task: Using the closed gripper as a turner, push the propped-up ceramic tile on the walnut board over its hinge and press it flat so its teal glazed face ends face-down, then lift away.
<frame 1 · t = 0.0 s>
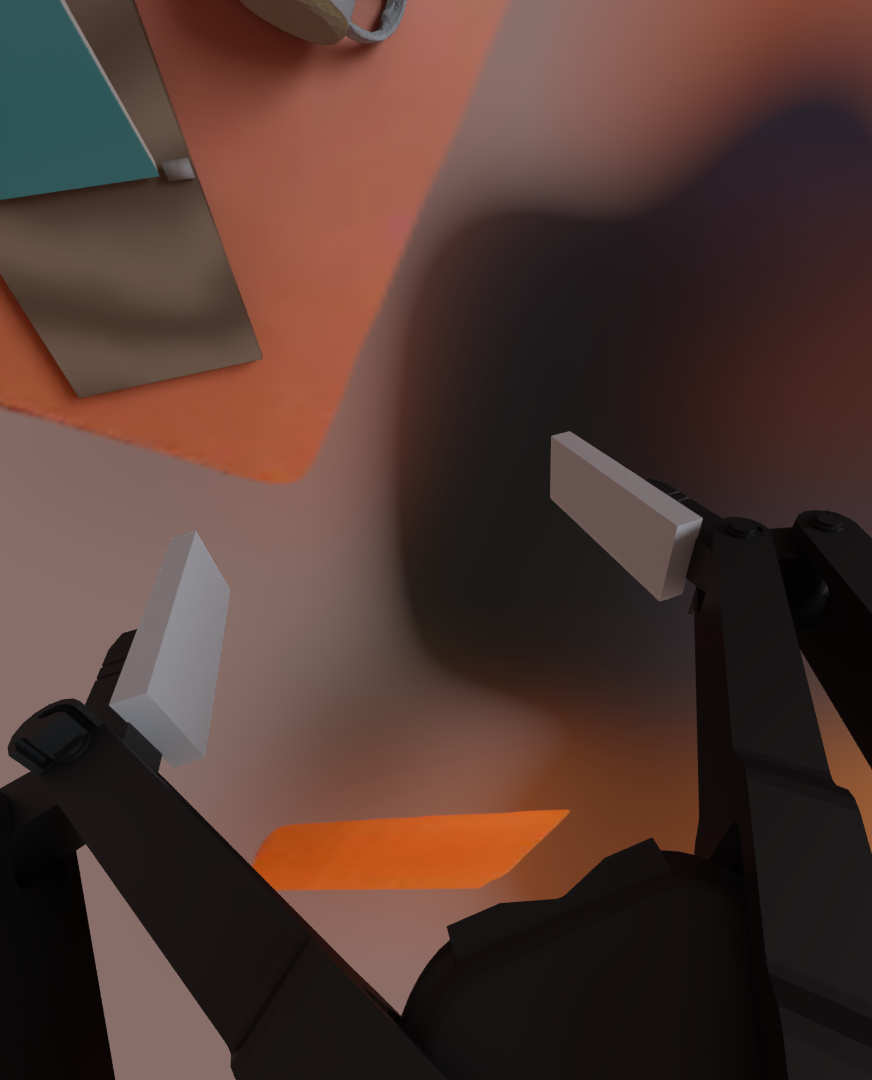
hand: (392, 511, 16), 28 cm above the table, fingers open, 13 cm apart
hinge board: (87, 188, 29), on the table
tile: (4, 98, 22), point 6 cm above the table, hinge at 55.0°
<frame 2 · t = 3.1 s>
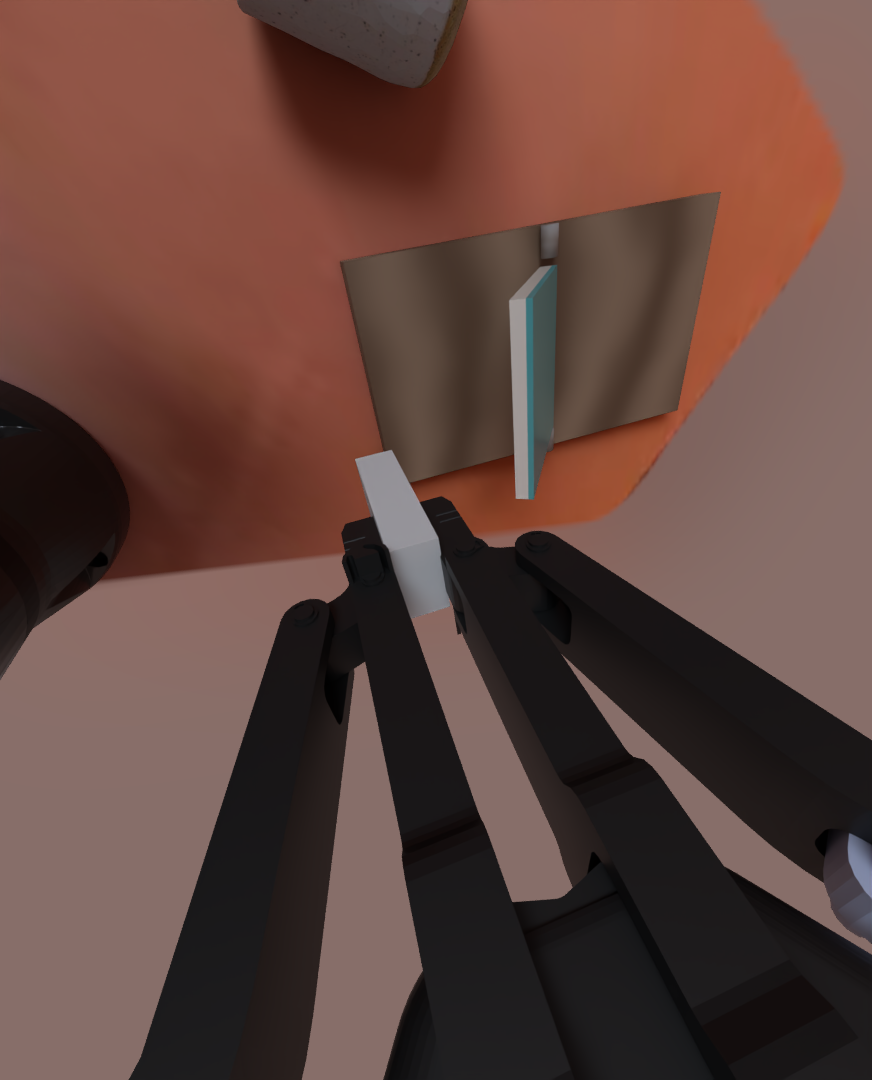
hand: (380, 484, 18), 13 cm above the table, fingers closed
hinge board: (534, 347, 30), on the table
tile: (537, 379, 25), point 6 cm above the table, hinge at 55.0°
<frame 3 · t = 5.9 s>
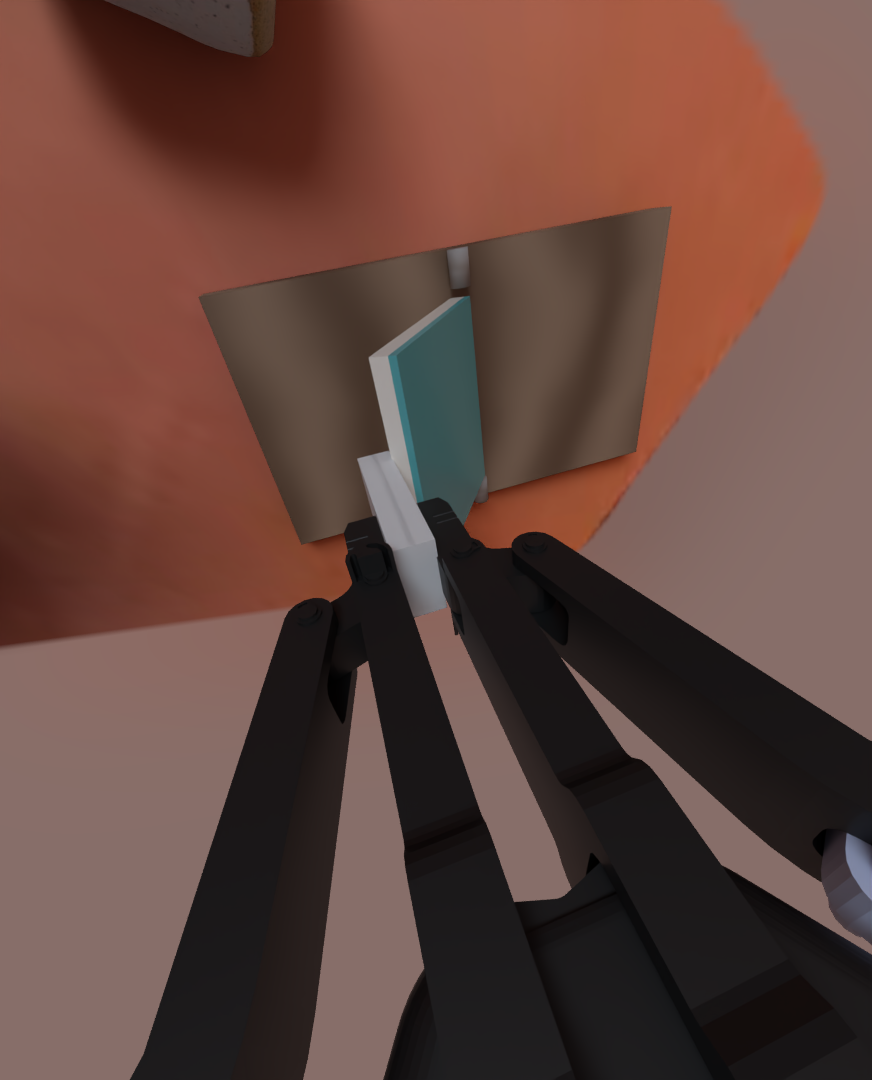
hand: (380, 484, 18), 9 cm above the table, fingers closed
hinge board: (459, 385, 26), on the table
tile: (445, 434, 21), point 6 cm above the table, hinge at 56.6°, touching gripper
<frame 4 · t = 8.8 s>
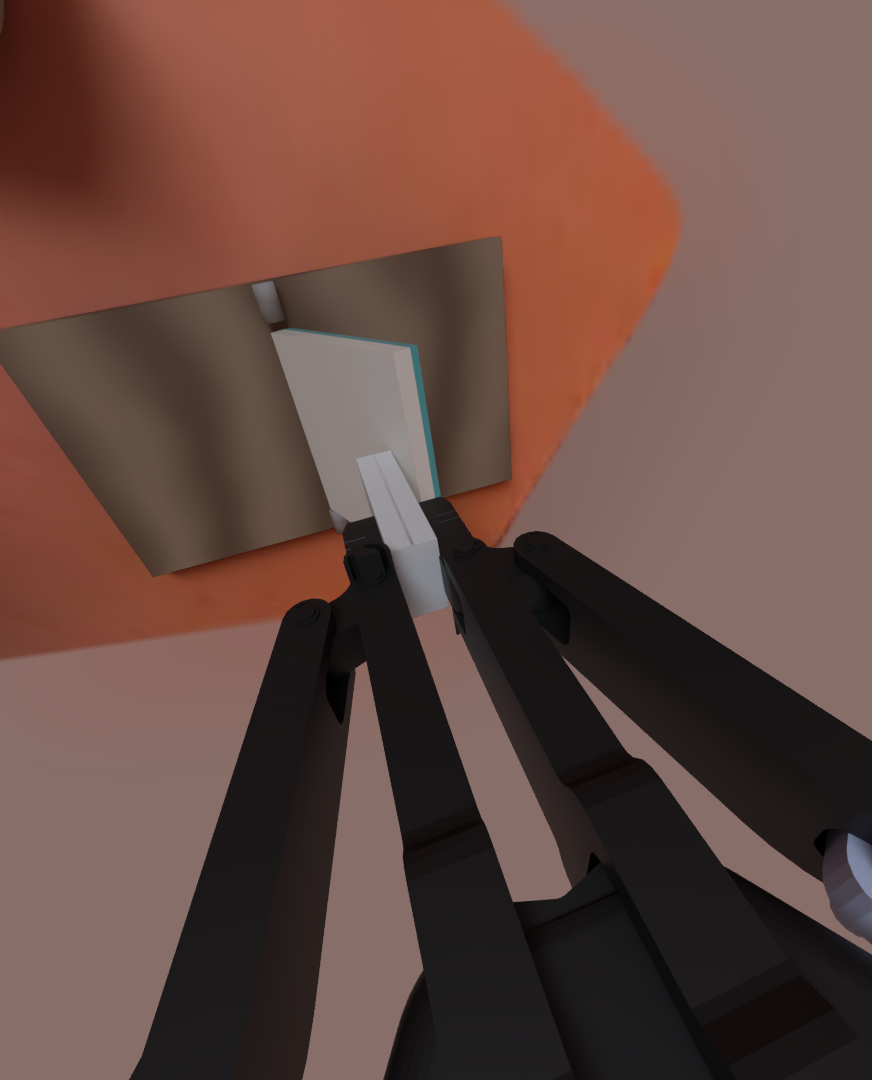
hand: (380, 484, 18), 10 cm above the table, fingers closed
hinge board: (308, 415, 26), on the table
tile: (361, 450, 20), point 7 cm above the table, hinge at 114.9°, touching gripper
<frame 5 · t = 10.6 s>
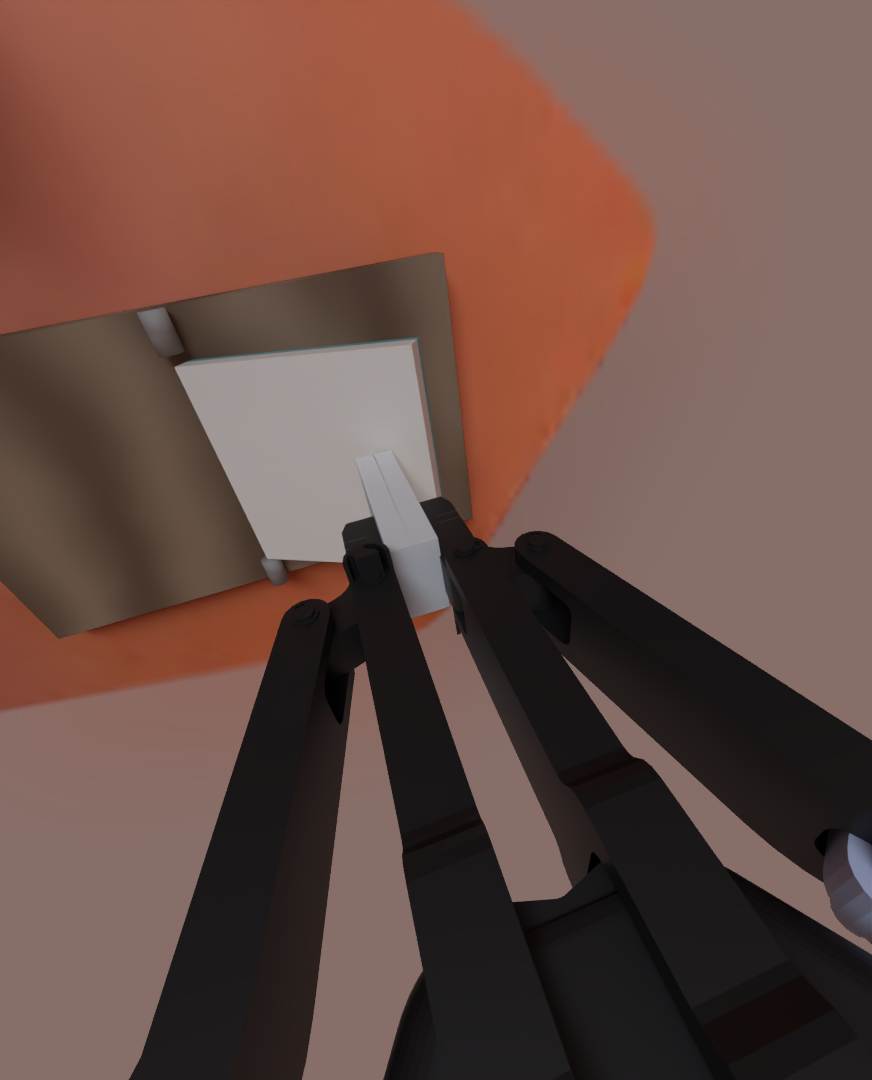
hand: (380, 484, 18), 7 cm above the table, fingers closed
hinge board: (232, 455, 22), on the table
tile: (327, 470, 19), point 5 cm above the table, hinge at 150.0°, touching gripper
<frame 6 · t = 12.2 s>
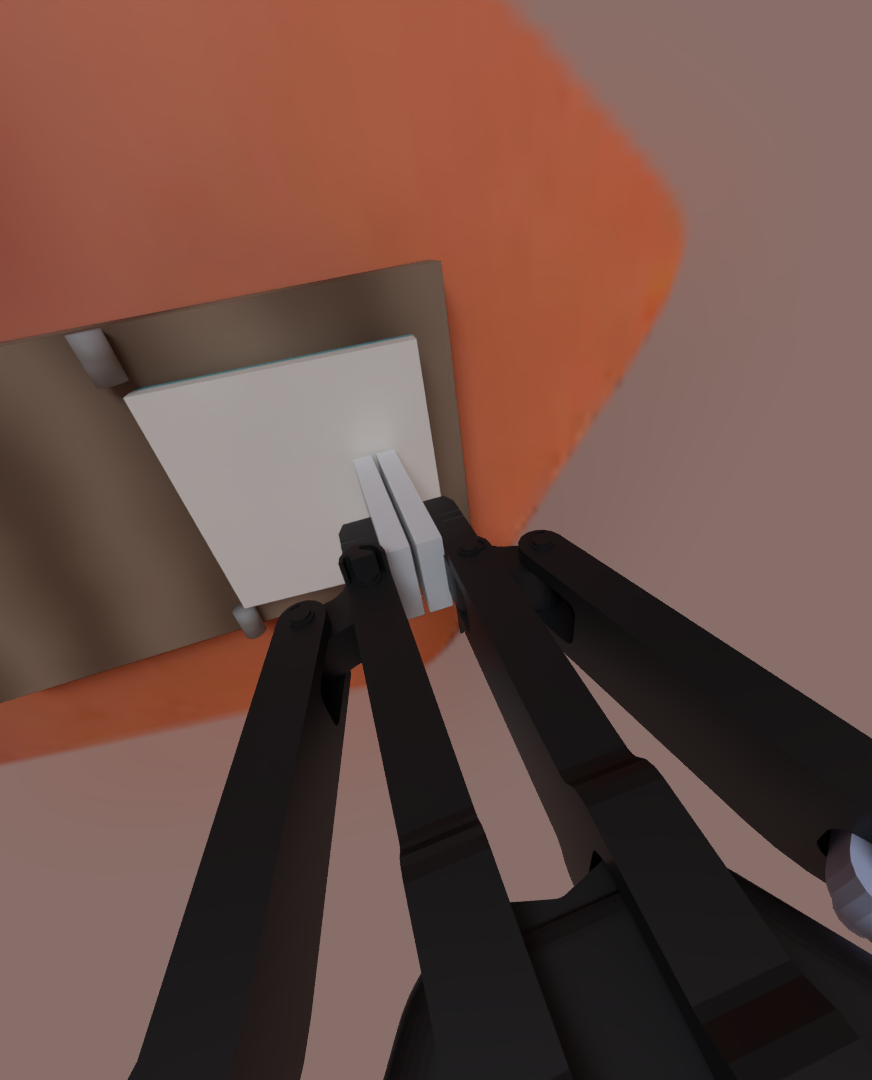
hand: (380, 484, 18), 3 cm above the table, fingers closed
hinge board: (196, 494, 19), on the table
tile: (318, 487, 18), point 2 cm above the table, hinge at 175.3°, touching gripper
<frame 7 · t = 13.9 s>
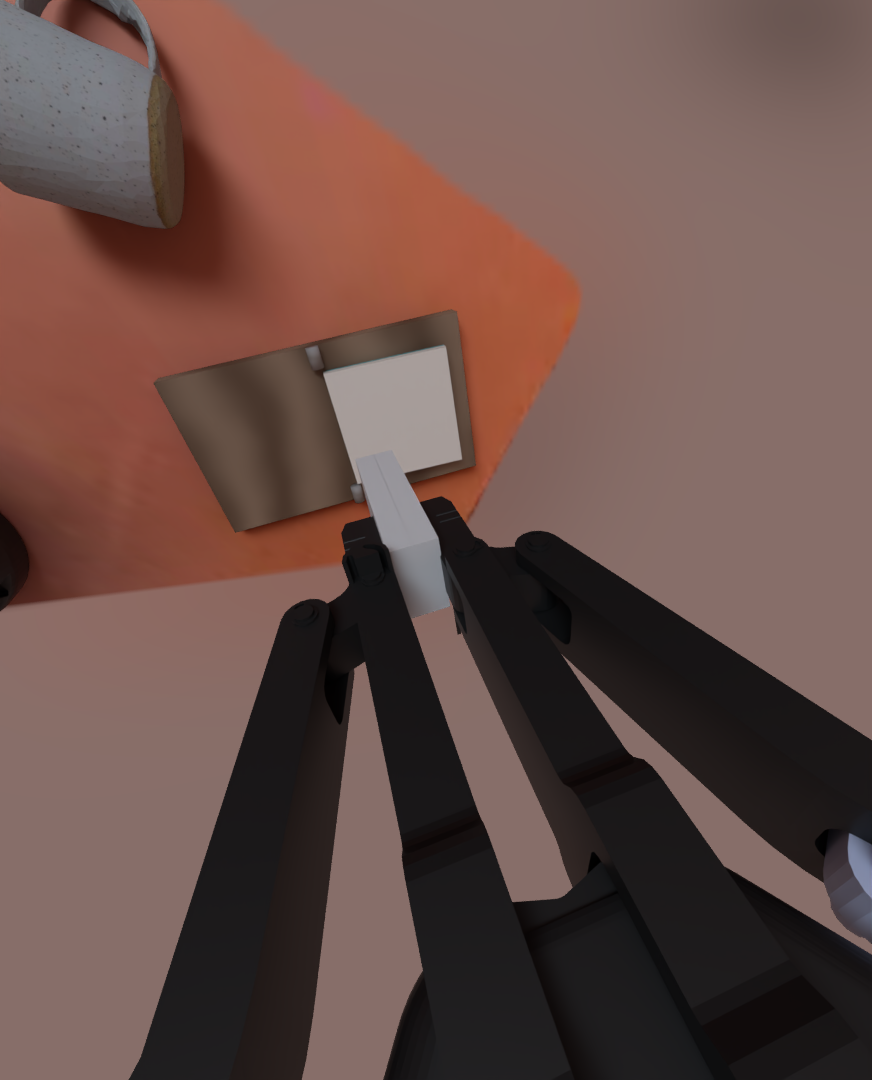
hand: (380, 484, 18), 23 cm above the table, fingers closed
hinge board: (336, 424, 39), on the table
tile: (398, 418, 38), point 2 cm above the table, hinge at 175.3°
ceramic mug: (107, 115, 26), on the table
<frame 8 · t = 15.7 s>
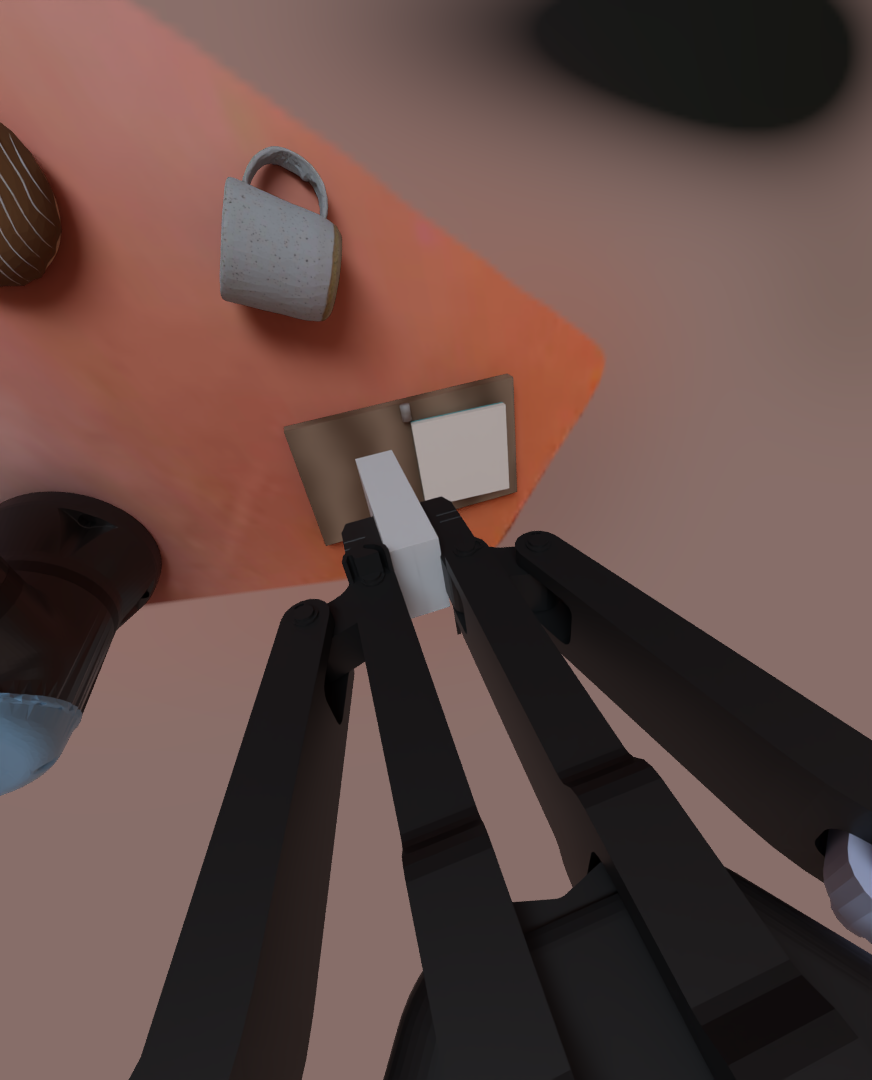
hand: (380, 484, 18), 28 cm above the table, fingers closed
hinge board: (411, 460, 49), on the table
tile: (462, 456, 48), point 2 cm above the table, hinge at 175.3°
ceramic mug: (278, 238, 35), on the table
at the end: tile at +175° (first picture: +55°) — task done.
